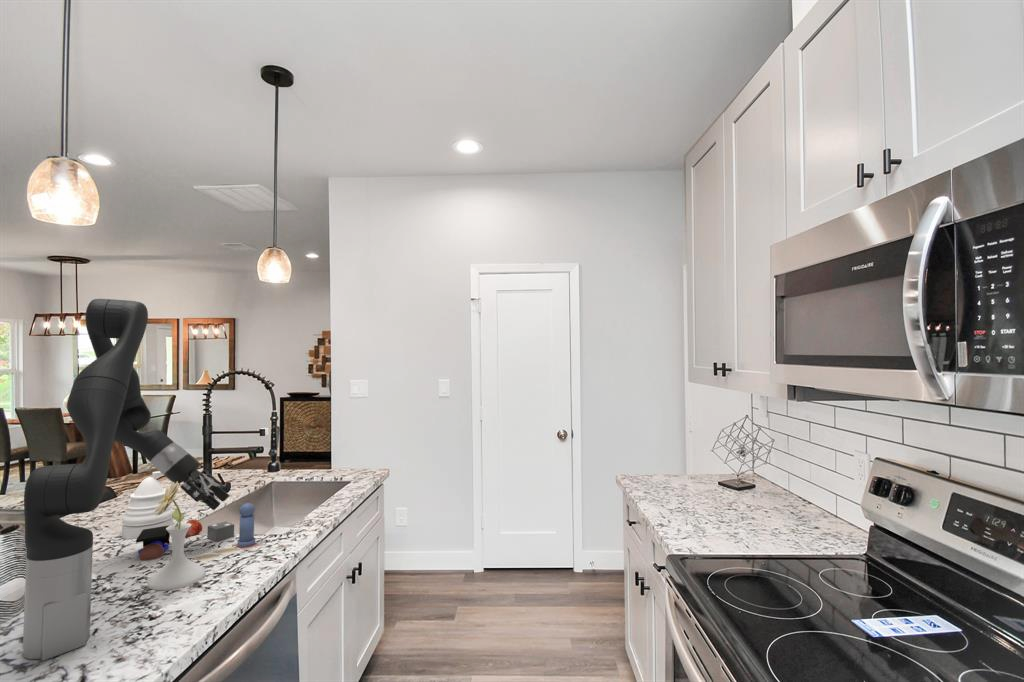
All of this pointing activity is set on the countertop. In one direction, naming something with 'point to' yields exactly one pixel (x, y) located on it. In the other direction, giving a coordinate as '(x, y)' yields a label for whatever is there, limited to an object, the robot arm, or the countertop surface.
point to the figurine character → (153, 542)
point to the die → (220, 531)
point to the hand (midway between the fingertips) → (222, 502)
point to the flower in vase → (175, 551)
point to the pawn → (246, 526)
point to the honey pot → (145, 508)
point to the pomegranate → (193, 528)
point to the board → (222, 551)
